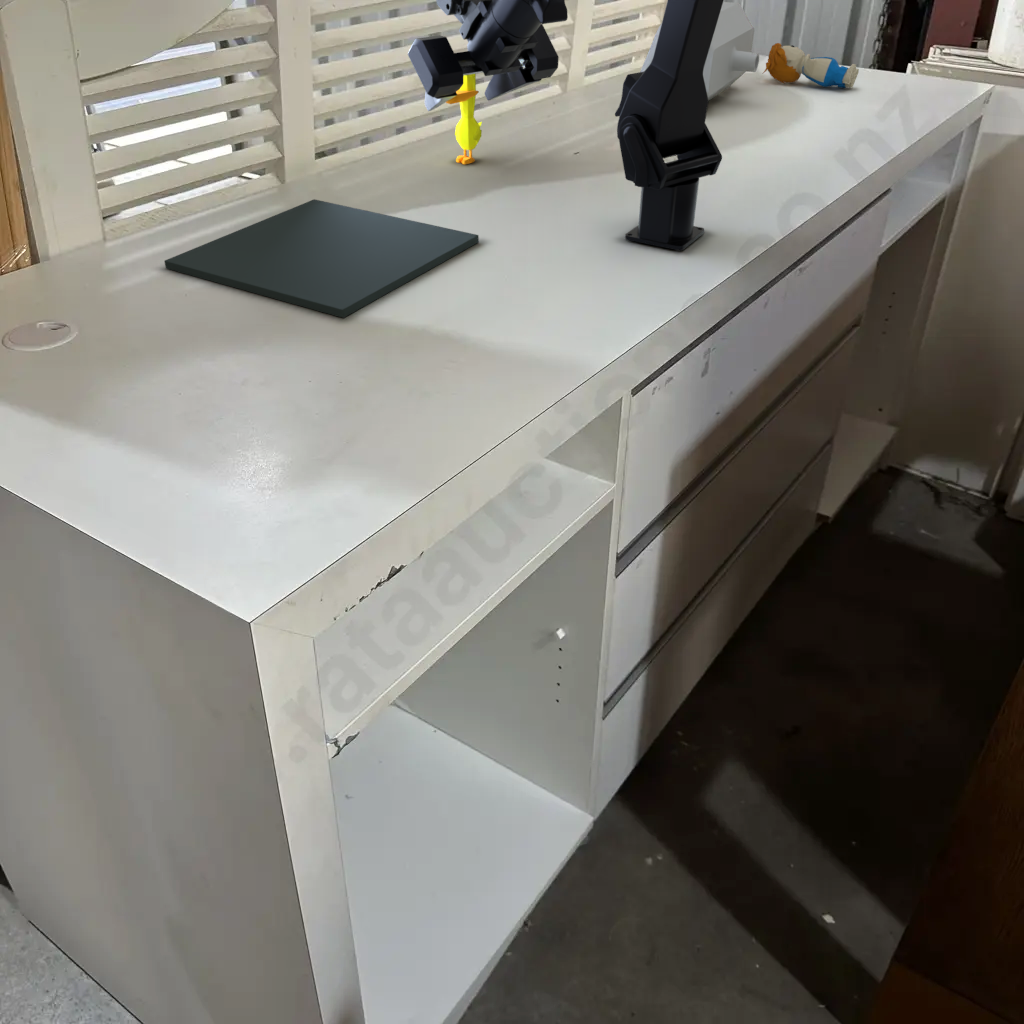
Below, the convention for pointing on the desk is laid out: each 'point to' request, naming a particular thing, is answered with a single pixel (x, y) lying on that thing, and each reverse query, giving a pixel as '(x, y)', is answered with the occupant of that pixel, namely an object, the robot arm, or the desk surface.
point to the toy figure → (467, 118)
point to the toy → (808, 68)
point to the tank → (724, 50)
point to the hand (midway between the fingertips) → (457, 102)
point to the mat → (324, 256)
